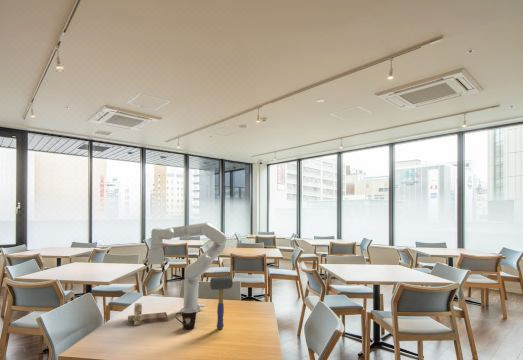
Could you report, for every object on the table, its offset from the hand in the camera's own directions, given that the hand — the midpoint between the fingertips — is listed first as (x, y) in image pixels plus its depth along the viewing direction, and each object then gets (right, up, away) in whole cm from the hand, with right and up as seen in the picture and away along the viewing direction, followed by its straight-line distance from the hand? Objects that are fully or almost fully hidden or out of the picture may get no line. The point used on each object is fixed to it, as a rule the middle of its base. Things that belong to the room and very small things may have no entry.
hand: (155, 272), depth 221 cm
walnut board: (+1, -25, -18) cm, 31 cm away
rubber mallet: (+48, -25, -30) cm, 62 cm away
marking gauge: (-4, -24, -21) cm, 32 cm away
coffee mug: (+28, -24, -30) cm, 47 cm away
